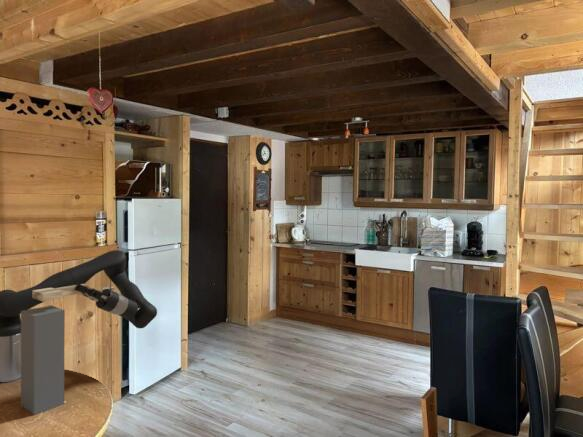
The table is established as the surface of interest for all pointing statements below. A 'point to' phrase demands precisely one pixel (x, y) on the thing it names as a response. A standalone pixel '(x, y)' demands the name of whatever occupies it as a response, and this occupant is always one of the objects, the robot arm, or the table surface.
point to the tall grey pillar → (42, 358)
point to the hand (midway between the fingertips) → (73, 285)
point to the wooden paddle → (55, 292)
